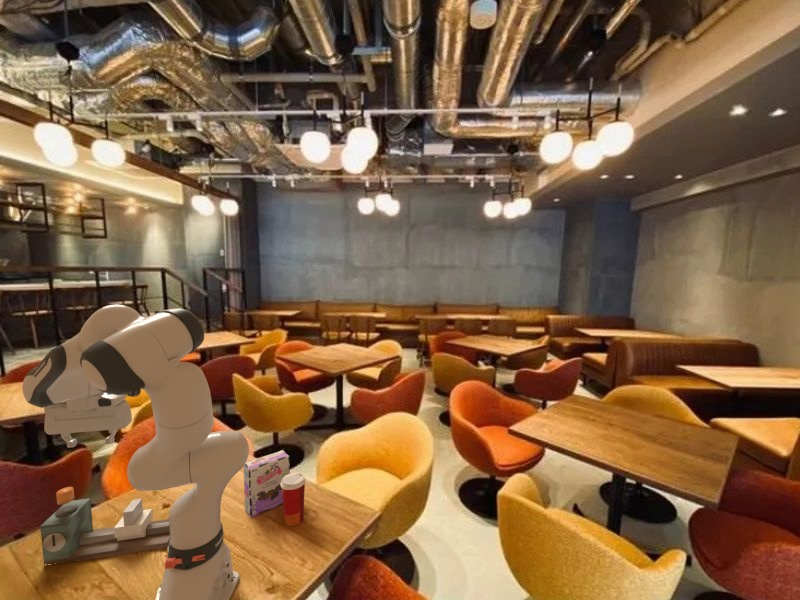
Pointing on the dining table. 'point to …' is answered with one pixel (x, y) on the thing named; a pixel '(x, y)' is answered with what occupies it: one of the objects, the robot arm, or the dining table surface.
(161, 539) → the rail base
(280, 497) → the candy box
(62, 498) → the button
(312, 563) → the dining table surface
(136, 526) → the carriage
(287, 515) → the paper cup
